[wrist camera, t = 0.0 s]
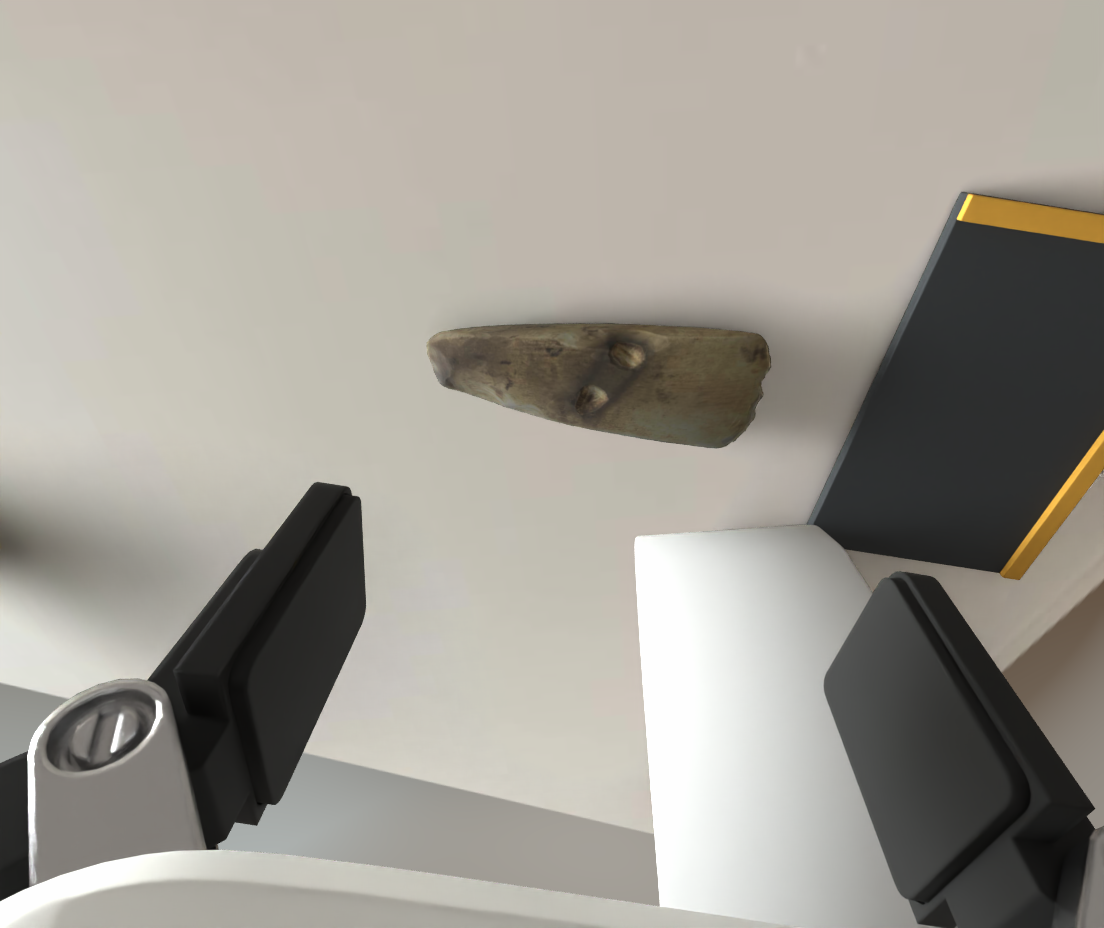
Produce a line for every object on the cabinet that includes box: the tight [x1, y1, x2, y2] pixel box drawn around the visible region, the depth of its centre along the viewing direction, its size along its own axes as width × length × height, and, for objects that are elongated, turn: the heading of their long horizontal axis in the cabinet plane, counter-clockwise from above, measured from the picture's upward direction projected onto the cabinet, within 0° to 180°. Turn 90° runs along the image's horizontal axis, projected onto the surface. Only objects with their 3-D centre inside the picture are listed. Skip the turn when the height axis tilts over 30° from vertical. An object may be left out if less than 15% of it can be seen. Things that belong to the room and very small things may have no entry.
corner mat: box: [807, 192, 1104, 580], centre depth 23 cm, size 15×10×1 cm, turn 172°
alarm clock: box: [635, 525, 958, 928], centre depth 23 cm, size 21×8×20 cm, turn 9°
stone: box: [427, 324, 771, 448], centre depth 23 cm, size 13×5×2 cm, turn 89°
